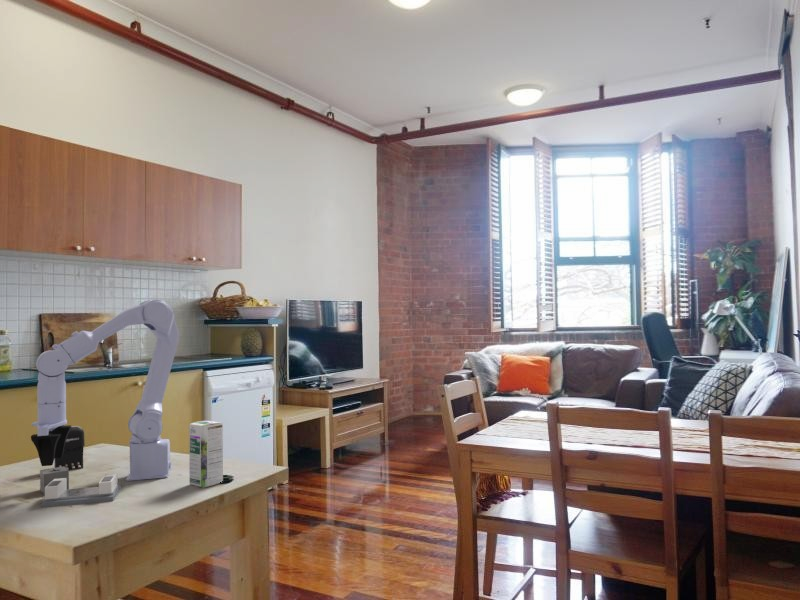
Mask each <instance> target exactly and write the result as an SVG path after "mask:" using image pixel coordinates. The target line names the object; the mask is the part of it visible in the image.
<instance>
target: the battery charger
mask: <svg viewBox="0 0 800 600" xmlns="http://www.w3.org/2000/svg"><path fill="white" fill-rule="evenodd" d="M85 441H86V440H85V431H84V429H83V428H82V427H81V426H78V425H74V426H73V425H71V430H70V432H69V434H68V436H67V439H66V442H65V447H64V452H63V455H62V457H61V458H54V462H53V465H54V466H53V468H57V467H63V466H65V467H66V468H67V469H68V470H69V472H70V471H71V472H72V471H77V470H81V469H82V470H83V469H84V447H85V445H86V444H85Z"/></svg>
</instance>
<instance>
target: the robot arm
mask: <svg viewBox="0 0 800 600" xmlns="http://www.w3.org/2000/svg"><path fill="white" fill-rule="evenodd" d="M134 325H144V326H146V327H147V328H148V329H149V330H150V331H151V333H152V334H153V335H154V336H155V338H156V343H155V346H154V350H153V353H152V357H151V361H150V365H149V368H148V372H147V376H146V379H145V383H144V387H143V391H142V395H141V399H140V401H139V402H138V403H137V405H136V407H135V411H134V413H133V414H132V415H131V416H130V417H129V419H128V423H127V428H128V430H129V432H130V433H131V434H132V435H131V436H130V438H129V473H128V476H126V478H125V481H127V482H130V481H141V480H151V479H163V478H168V477H169V474H170V472H171V470H172V469H171V468H172V462H171V443H170V439H168V438H165V439H164V438H161V437H162V435H161V434H162V433H163V432H162V431H163V422H162V417H163V413H164V412H163V402H164V401H163V400H164V397H165V393H166V390H167V384H168V382H169V378H170V374H171V370H172V366H173V363H174V360H175V355H176V351H177V347H178V344H179V341H180V340H179V339H180V331H179V329H178V325H177V321H176V319H175V312H174V311H173V309H172V308H171V306H170V305H169V304H168V303H167V302H165V300H162V299H152V300H144V301H142V302H141V303H139V304H136V305H133V306H131V307H128V308H126V309H125V310H123V311H121V312H120V313H118V314H117V315H115V316H114V317H112V318H109V320H107V321H106V322H104V323H103V324H101V325H99V326H98V327H96V328H95V329H93V330H92V331H88V330H81V331H79V332H78V331H77V330H76V331H73V332H72V333H71V334H70V337H69V338H66V339H65V340H64V341H62V342H60V343H58V344H57V343H55V344H53V345H52V346H51V347H52V350H45V351H44V352H41V354H39V355H38V357H37V358H36V362H35V367H36V369H37V371H38V375H37V380H38V383H37V387H36V388H37V389H36V390H37V391H36V392H37V393H36V395H37V398H36V399H37V402H36V403H37V421H34V422H33V421H32V423H31V427H37V428H36V431H37V432H36V434H35V433H34V434H32V435H31V436H30V440H31V442H32V444H33V445H34V446H35V449H36V450H37V454H38V457H39V461H40V466H41V467H49V466H51V467H52V466H53V465H54V458H61V457H62V455H63V452H64V447H65V442H66V439H67V436H68V434H69V432H70V430H71V427H72V425H71V424H70V425H68V419H67V382H66V374H65V372H66V371H67V369H68V367H69V366H73V365H75V364H77V363H79V362H80V361H82V360H83V359H85V358H87V357H88V356H89V355H91V354H92V353H95V352H96V351H97V350H98V347H99V343H100V342H103V341H104V340H106V339H107V338H109V337H111V336H113V335H115V334H116V333H118V332H120V331H122V330H124V329H125V328H127V327H129V326H134Z"/></svg>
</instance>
